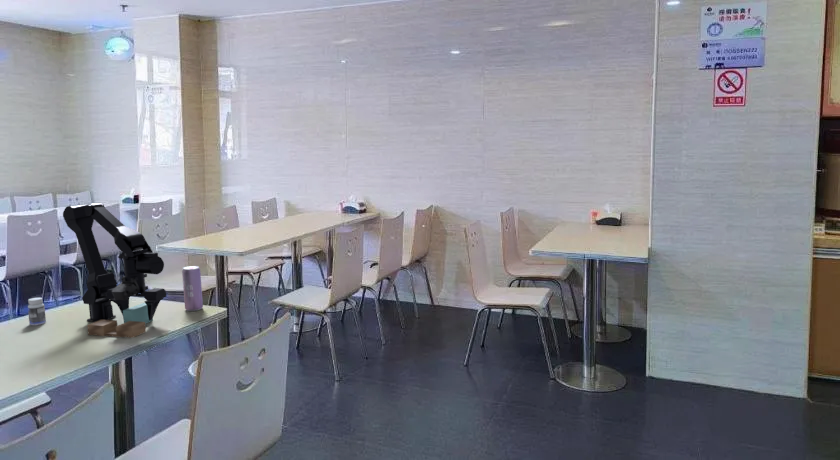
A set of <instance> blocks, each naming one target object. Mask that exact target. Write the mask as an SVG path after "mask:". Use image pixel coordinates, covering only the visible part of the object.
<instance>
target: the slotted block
mask: <svg viewBox="0 0 840 460" xmlns="http://www.w3.org/2000/svg"><path fill="white" fill-rule="evenodd" d="M86 327H87V335H88V336H100V337H113V338H114V337H117V338H129V339H130V338H131V339H133V338H135V337H137V336H141V335H143V334H145V333H146V324H145V322H138V321H128V322H126V323H124V322H123V323H121V324H118V320H115V319H109V320H99V321H96V322H95V321H93V322H91V323H89V324H87V326H86Z"/></svg>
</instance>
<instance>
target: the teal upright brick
mask: <svg viewBox="0 0 840 460" xmlns="http://www.w3.org/2000/svg"><path fill="white" fill-rule="evenodd" d="M122 317H123V318H122V319H123V323H126V322H128V321H138V322H145V325H146V324H148V323H150V322H153V321H154V319H152V320H149V317H148V308H147V304H146V303H145V302H141V303H140V304H137V305H134V306H132V307H129V308H128V309H126V310H123V315H122Z"/></svg>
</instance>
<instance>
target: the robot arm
mask: <svg viewBox="0 0 840 460" xmlns="http://www.w3.org/2000/svg"><path fill="white" fill-rule="evenodd" d="M62 217H63V220H64V222H65V224H66V226H67V227H68V228H69V229H70V230H71V231H72V232H74V234H75V236H76V239H77V242H78V245H79V249H80V251H81V254H82V258H83V260H84V263H85V266H86V269H87V272H88V276H87V280H86V288H87V290H86V291H85V293H84V294H83V295H82V297H81V298H82V301H83V304H85V305H88V310H89V311H88V312H89V318H87V319H86V321H87V322H96V321H99V320H113V319H115V318H116V316H117V315H116V314H115V315H114V311H113V305H112V303H115V305H117V307H118V309H119V311H120V313H121V315H122V316H123V310H126V309H128V308H130V297H139V298H142V297H143V298H144V299H145V301H144V302H143V303H146V304H147V308H148V317H149V320H152V319H153V318H154V316H155V315H156V314H155V313H156V311H157V309H158V306H159V304H160V303H161V301H162V300H164V298H166V297H167V290H166V289H165V288H164V287H163V288H162V287H161V288H160V287H158V288H157V287H155V288H151V289H149V286H148V285H146V280H145V278H147V277H148V274H149V275H160V274H161V273H162V272H163V271H164V268H165V263H164V260H163V259H162V257H160V256H159V253H158V252H157V251H156V252H153V250H152V247H151V246H150V245H149V243H148V242H147V240H146V238H145V236H144V235H143V234H142V233H141V232H139V231H137V230H136V229H134V228H131V227H128V226H126V225H125V224H124V223H122V221H120V220H119V219H118V218H117V217H116V216H115V215H114V214H112V212H110V211H109V210H108V209H107V208H106V207H105V205H104V204H103V203H101V202H93V203H88V204H85V203H84V204H77V205H67V206H65V208H64V210H63V212H62ZM94 222H97V224H98V225H99V226H101V227H102V228H103V229H104V230H105V231H106V232H108V234H109V235H111V237H112V238H113V240H114V244H115V245H116V247H117V249H119V250H120V252H121V253H120V254H119V255H118V256H117V258H118V259H121V260H123V269H124V270H123V271H124V276H122V278H121V283H119V284H118V282H117V280H116V277H115V274H114V273H113V272H109V271H108V270H106V268H105V265H104V262H103V259H102V256H101V253H100V250H99V248H98V245H97V241H96V238H95V234H94V233H93V232H94V231H93V225H94ZM167 298H168V297H167ZM153 320H154V319H153Z"/></svg>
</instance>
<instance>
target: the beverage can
mask: <svg viewBox="0 0 840 460" xmlns="http://www.w3.org/2000/svg"><path fill="white" fill-rule="evenodd" d="M181 274H182V288H183V299H184V300H183V302H184V309H185V310H186V311H187V312H196V311H200V310H202V309H203V307H204V304H203V303H204V302H203V292H202V290H203V287H202V279H201V278H202V277H201V276H202V275H201V269H200V266H198V265H188V266H184V267H182V269H181Z"/></svg>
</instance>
